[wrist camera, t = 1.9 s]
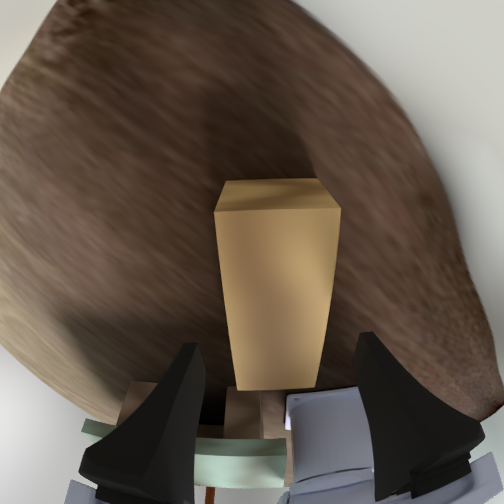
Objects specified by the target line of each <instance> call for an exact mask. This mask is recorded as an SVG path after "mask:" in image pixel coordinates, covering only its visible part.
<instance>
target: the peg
mask: <svg viewBox="0 0 504 504" xmlns="http://www.w3.org/2000/svg"><path fill="white" fill-rule="evenodd" d="M340 215H341V208H340V206H339V205H338V204H337V202H336V201H335V200H334V199H333V197H332V196H331V195H330V194H329V192H328V191H327V190H326V189H325V187H324V186H323V185H322V184H321V182H320V181H319V180H318V179H317V178H299V179H256V180H234V181H226V182H225V185H224V187H223V190H222V192H221V195H220V198H219V200H218V203H217V205H216V208H215V211H214V217H215V226H216V235H217V244H218V253H219V261H220V269H221V278H222V286H223V293H224V301H225V309H226V316H227V323H228V330H229V337H230V344H231V351H232V358H233V364H234V371H235V377H236V384H237V390H281V389H298V388H311V387H315V383H316V379H317V374H318V369H319V364H320V359H321V354H322V349H323V344H324V338H325V333H326V327H327V321H328V315H329V308H330V302H331V295H332V288H333V280H334V273H335V265H336V256H337V247H338V237H339V227H340Z"/></svg>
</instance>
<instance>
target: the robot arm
mask: <svg viewBox="0 0 504 504" xmlns="http://www.w3.org/2000/svg"><path fill="white" fill-rule="evenodd" d="M352 362H353V368H354V374H355V379H356V383H357V386H358V387H352V388H345V389H338V390H330V391H322V392H312V393H301V394H291V395H288V396H287V399H286V417H285V429H287V430H291V441H292V456H293V472H294V484H290V485H289V486H290V491H286V492H284V493H283V495H282V496H281V497H280V498H279V500H278V503H277V504H484V503H485V502H487V501H488V500H489V499H491V498H493V497H494V496H495V495H497V494H498V493H500V492H501V491H502V490H503V485H502V482H501V478H500V475H499V472H498V469H497V465H496V463H495V460H494V456H493V453H492V452H489V453H487V454H486V455H484V456H482V457H480V458H479V459H477V460H475V461H473V462H472V463H470V464H469V461H468V460H469V459H470V458H471V455H470V451H471V450H472V449H474V448H475V447H476V446H477V445H479V444H480V443H481V442H482V441H483V440H484V438H485V434H484V431H483V429H482V426H481V424H480V422H479V421H478V420H475V419H473V418H471V417H469V416H467V415H465V414H463V413H461V412H459V411H457V410H456V409H454V408H452V407H451V406H449V405H447V404H446V403H445V402H443V401H442V400H440V399H439V398H437V397H436V396H435V395H433V394H432V393H431V392H429V391H428V390H427V389H426V388H425V387H423V386H422V385H421V384H420V383H419V382H418V381H417V380H416V379H415V378H414V377H413V376H412V375H411V374H410V373H409V372H408V371H407V370H406V369H405V368H404V367H403V366H402V365H401V364H400V363H399V362H398V360H397V359H396V358H395V357H394V356H393V355H392V354H391V353H390V351H389V350H388V349H387V348H386V347H385V346H384V344H383V343H382V342H381V341H380V340H379V338H378V337H377V336H376V335H375V334H374V332H373V331H372V332H365V333H360V335H359V339H358V343H357V347H356V350H355V354H354V357H353V361H352ZM205 381H206V368H205V365H204V362H203V358H202V355H201V352H200V348H199V345H198V343H184V344H183V345H182V347H181V348H180V350H179V352H178V353H177V355H176V357H175V358H174V360H173V362H172V363H171V365H170V366H169V368H168V369H167V371H166V372H165V374H164V375H163V377H162V378H161V380H160V381H159V382H158V384H157V385H156V386H155V388H154V389H153V390H152V392H151V393H150V394H149V395H148V397H147V398H146V399H145V400H144V401H143V402H142V403H141V405H140V406H139V407H138V408H137V409H136V410H135V411H134V412H133V413H132V414H131V415H130V416H129V417H128V418H127V419H126V420H125V421H124V422H122V423H121V424H120V425H119V426H118V427H116V428H115V429H114V430H113V431H111V432H110V433H109V434H108V435H106V436H105V437H103V438H102V439H100V440H99V441H97V442H96V443H94V444H93V445H91V446H90V447H88V448H86V450H85V452H84V455H83V458H82V461H81V465H80V468H79V473H80V475H82V476H83V477H85V478H86V479H88V480H90V481H92V482H93V483H95V484H97V485H98V487H97V489H94V488H92V487H89V486H87V485H84V484H82V483H79V482H77V481H74V480H71V481H70V484H69V488H68V491H67V495H66V499H65V503H64V504H195V501H194V461H195V444H196V434H197V427H198V422H199V417H200V412H201V407H202V402H203V397H204V391H205ZM373 472H374V476H373Z"/></svg>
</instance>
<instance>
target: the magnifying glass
mask: <svg viewBox="0 0 504 504" xmlns="http://www.w3.org/2000/svg"><path fill="white" fill-rule="evenodd" d="M214 496H215V487H208V486H206V498H205V504H214Z"/></svg>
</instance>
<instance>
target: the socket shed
mask: <svg viewBox="0 0 504 504" xmlns="http://www.w3.org/2000/svg"><path fill="white" fill-rule="evenodd" d="M157 384H158V383H151V382H142V381H133V380H131V382H130V385H129V388H128V390H127V393H126V396H125V399H124V402H123V405H122V408H121V411H120V414H119V418H118V421H117V424H116V426H115V425H110V424H106V423H102V422H97V421H93V420H90V419H86V420H85V422H84V425H83V428H82V433H83V434H84V435H85V436H86V437H88V438H89V439H90V440H91V441H92V442H93V443H96V442H97V441H99V440H100V439H102V438H103V437H105V436H106V435H108V434H109V433H110V432H111V431H113V430H114V429H115V428H116V427H118V426H119V425H120V424H121V423H122V422H124V421H125V420H126V419H127V418H128V417H129V416H130V415H131V414H132V413H133V412H134V411H135V410H136V409H137V408H138V407H139V406H140V405H141V403H142V402H143V401H144V400H145V399H146V398H147V397H148V395H149V394H150V393H151V392H152V390H153V389H154V388H155V386H156V385H157ZM286 459H287V447H286V438H278V439H264V427H263V416H262V405H261V394H260V390H237V386H227V397H226V409H225V421H224V426H222V425H200V424H198V427H197V434H196V444H195V461H194V485H198V486H208V487H224V488H280V487H283V483H284V475H285V467H286Z"/></svg>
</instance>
